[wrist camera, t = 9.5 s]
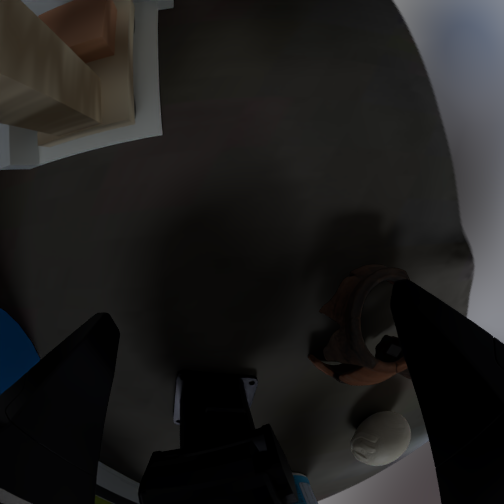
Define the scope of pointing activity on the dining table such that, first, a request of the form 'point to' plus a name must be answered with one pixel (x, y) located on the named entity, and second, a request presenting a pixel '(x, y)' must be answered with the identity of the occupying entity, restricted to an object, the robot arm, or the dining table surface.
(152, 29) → the bay
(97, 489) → the tea box
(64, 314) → the dining table surface
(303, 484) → the beverage bottle
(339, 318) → the pottery mug
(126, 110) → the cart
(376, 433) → the baseball
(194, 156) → the dining table surface
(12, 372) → the thermos
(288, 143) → the dining table surface
